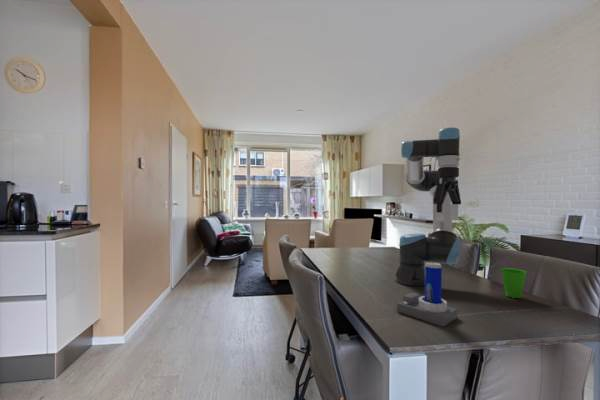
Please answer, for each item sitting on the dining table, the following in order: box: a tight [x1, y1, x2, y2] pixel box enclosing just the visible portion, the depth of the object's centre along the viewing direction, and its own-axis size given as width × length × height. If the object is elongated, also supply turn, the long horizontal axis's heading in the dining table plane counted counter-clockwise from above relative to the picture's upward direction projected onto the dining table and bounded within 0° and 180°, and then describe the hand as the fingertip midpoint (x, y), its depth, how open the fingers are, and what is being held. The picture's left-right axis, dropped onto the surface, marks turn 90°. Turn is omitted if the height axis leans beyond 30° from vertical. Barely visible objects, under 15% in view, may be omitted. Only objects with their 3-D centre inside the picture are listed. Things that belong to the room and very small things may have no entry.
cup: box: [499, 267, 528, 299], centre depth 122 cm, size 9×9×11 cm
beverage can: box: [424, 262, 443, 304], centre depth 99 cm, size 5×5×15 cm
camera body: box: [396, 291, 458, 327], centre depth 101 cm, size 16×11×6 cm
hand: (447, 220), depth 116 cm, fingers open, 13 cm apart
